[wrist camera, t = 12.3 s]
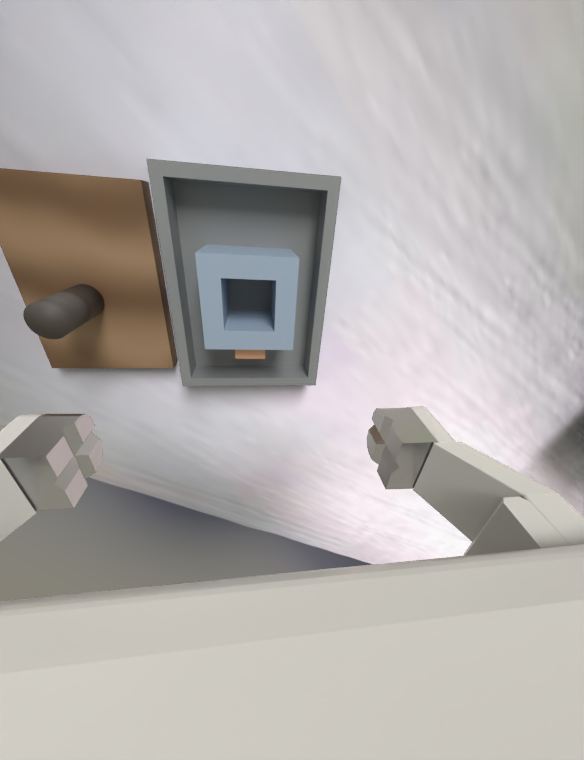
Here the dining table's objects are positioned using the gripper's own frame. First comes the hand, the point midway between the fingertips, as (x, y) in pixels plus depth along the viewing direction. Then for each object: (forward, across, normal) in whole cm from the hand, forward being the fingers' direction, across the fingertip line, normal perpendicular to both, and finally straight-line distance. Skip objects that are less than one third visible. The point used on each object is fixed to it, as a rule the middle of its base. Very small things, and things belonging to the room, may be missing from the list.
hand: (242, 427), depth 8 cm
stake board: (+18, +12, 0) cm, 22 cm away
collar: (+18, 0, 0) cm, 18 cm away
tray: (+18, 0, 0) cm, 18 cm away
